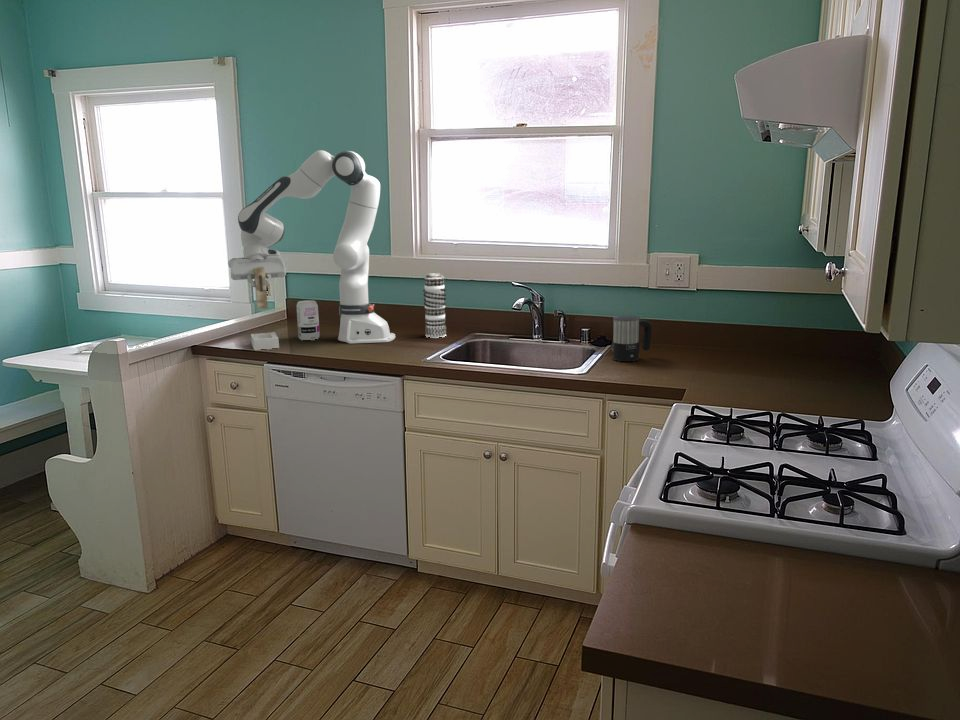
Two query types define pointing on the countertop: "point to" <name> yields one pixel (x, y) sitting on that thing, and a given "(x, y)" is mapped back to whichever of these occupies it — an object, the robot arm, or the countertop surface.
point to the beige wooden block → (260, 288)
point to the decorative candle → (434, 305)
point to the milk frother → (629, 337)
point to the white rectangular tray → (264, 341)
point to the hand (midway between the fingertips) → (260, 285)
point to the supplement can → (308, 320)
